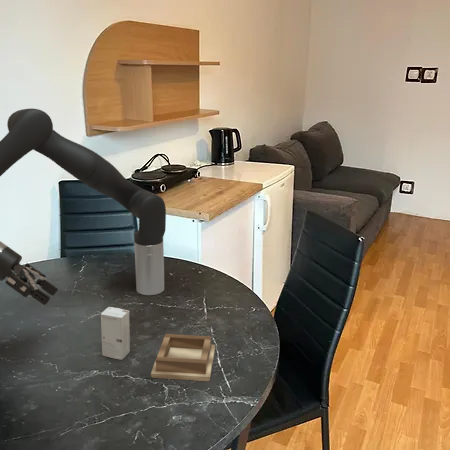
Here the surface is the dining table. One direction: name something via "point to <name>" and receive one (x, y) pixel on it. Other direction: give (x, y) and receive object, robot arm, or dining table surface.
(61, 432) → the dining table surface
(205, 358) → the socket board
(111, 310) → the skincare box
